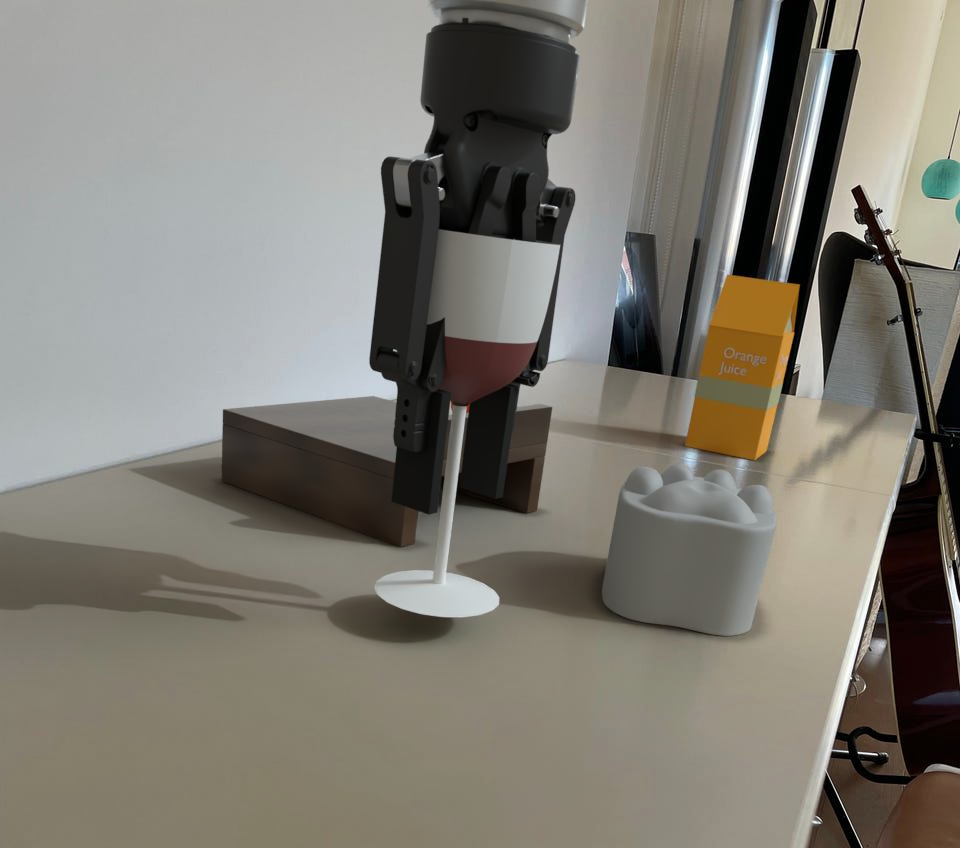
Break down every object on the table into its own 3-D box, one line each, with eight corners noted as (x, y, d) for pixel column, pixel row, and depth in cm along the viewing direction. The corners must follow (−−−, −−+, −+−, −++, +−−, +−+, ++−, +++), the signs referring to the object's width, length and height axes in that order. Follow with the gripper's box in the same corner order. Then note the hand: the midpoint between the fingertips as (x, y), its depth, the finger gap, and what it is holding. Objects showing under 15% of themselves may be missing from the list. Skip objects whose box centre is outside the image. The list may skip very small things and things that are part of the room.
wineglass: (338, 580, 59) (367, 217, 51) (449, 561, 64) (490, 232, 56) (423, 629, 54) (468, 234, 46) (534, 604, 59) (593, 249, 51)
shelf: (221, 481, 82) (223, 371, 79) (368, 457, 96) (375, 363, 93) (400, 547, 72) (412, 424, 69) (537, 510, 86) (552, 406, 82)
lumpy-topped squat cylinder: (596, 613, 64) (620, 484, 61) (608, 556, 76) (628, 445, 73) (757, 642, 63) (790, 511, 60) (744, 579, 75) (771, 467, 72)
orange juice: (699, 437, 128) (733, 274, 120) (767, 451, 125) (806, 284, 117) (683, 446, 121) (718, 274, 114) (755, 460, 118) (795, 284, 110)
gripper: (445, -17, 38) (390, 546, 48) (662, 73, 53) (586, 494, 62) (310, -16, 42) (283, 504, 52) (546, 67, 56) (491, 465, 66)
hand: (448, 498), depth 57 cm, fingers closed on wineglass, 5 cm apart
